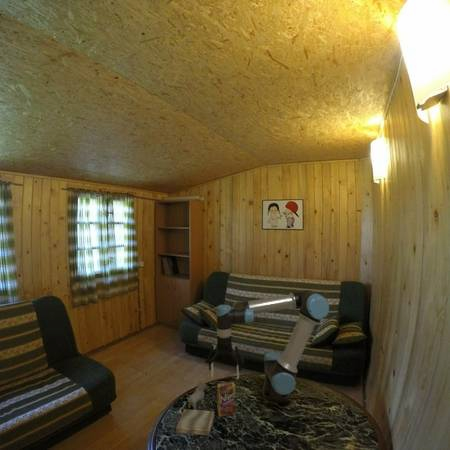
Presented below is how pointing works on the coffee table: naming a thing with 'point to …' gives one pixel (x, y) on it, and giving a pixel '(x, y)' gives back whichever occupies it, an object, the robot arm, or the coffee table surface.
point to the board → (195, 422)
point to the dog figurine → (197, 395)
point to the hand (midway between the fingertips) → (225, 376)
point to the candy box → (226, 398)
